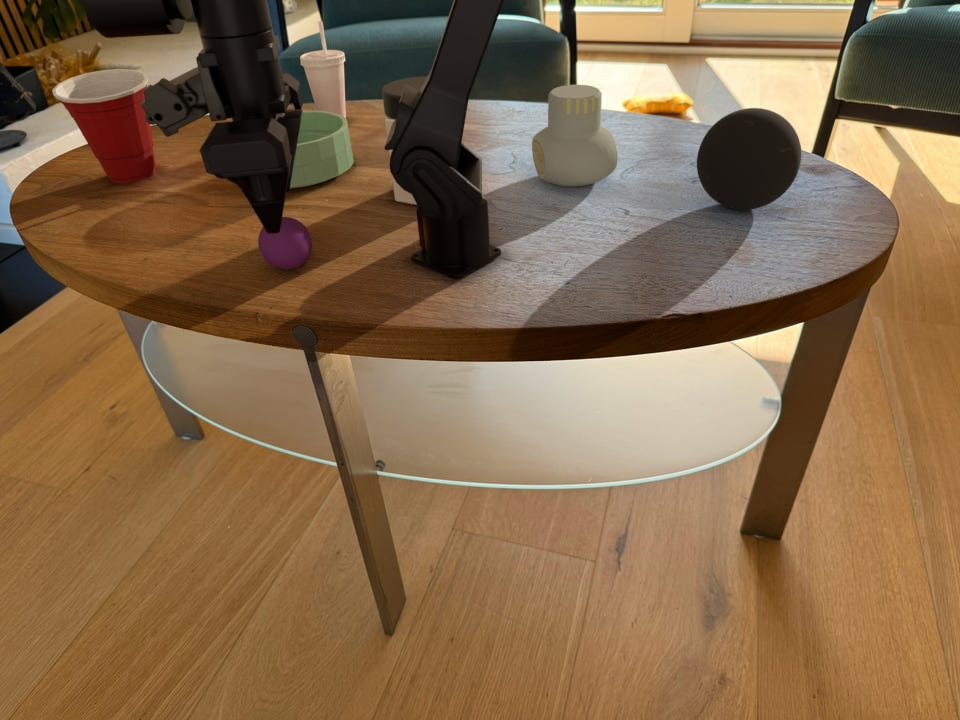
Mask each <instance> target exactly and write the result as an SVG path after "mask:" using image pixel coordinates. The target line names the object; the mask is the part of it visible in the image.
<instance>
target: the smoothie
mask: <svg viewBox="0 0 960 720" xmlns="http://www.w3.org/2000/svg"><path fill="white" fill-rule="evenodd" d="M317 24H318V28H319V35H320V41H321V47H322V49H321V50H320V49H319V50H314V51H309V52H306V53H303V54H301V55H300V57H299V60H300V66H301V67H303V69H304V73H305V76H306V79H307V82H308V86H309V89H310V93H311V95H312V100H313V102H314V106H315V109H316V111H326V112H332V113H336V114H339V115H342V116H343V117H345V118H346V119H347V112H346V111H347V110H346V88H345V87H346V85H345V62H346V55H345V52H344V51H342V50H339V49H328V48H327V42H326V36H325V30H324V24H323V21H322V20H319V21H318V23H317Z"/></svg>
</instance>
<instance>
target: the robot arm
mask: <svg viewBox="0 0 960 720" xmlns="http://www.w3.org/2000/svg"><path fill="white" fill-rule="evenodd" d="M504 1H505V0H453V2H452V4H451V8H450V11H449V13H448V17H447V20H446V23H445V27H444V30H443V31H442V36H441V39H440V42H439V45H438V47H437V51H436V53H435V57H434V60H433V62H432V66H431V69H430V71H429V73H428V75H426V76H427V78H426V80H425V82H424V83H423V85H422V87H421V88H420V90H419V91H418V90H416V89H415V88H413V87H411V86H410V85H408V84H405V86H404V89H403V92H402V95H401V98H400V101H399V104H398V111H397V118H396V119H395V120H394V122H393V123H392V126H391V129H390V132H389V135H388V138H387V137H386V141H385V145H384V150H385V151H389V150H392V153H391V156H390V157H389V163H388V164H389V171H390V174H391V176H392V175H393V177H394V179H395V181H396V183H397V184H398V185H399V186H400V187H401V188H402V189H403V190H405V191H407V192H408V193H410V194H412V196H413V198H414V200H415V202H416V203H417V205H416V207H417V208H416V209H415V212H416V213H415V214H416V220H417V221H416V222H417V231H418V238H419V247H420V248H421V249H420V250H418V251H416V252H414V253H412V254H411V255H410V260H411V262H413V263H416V264H417V265H420V266H423V267H425V268H427V269H430V270H432V271H434V272H437V273H439V274H442V275H444V276H446V277H449V278H450V279H454V280H458V279H461V278H463V277H465V276H467V275H469V274H471V273H472V272H473V271H475V270H477V269H479V268H481V267H483V266H484V265H486V264H487V263H490V262H491V261H493V260H495V259H498V257H500V256H501V255H502V249H501V248H499V247H497V246H494V245H491V243H490V224H489V202H488V201H489V200H488V198H487V199H486V198H484V197H483V161H482V159H481V157H479V156H478V155H477V154H476V153H475V152H473V151H472V150H471V149H470V148H469V147H468V146H467V145H465V143H463V137H464V136H463V135H464V129H465V124H466V118H467V111H468V105H469V99H470V95H471V92H472V89H473V87H474V85H475V81H476V79H477V77H478V74H479V71H480V67H481V65H482V62H483V60H484V57H485V54H486V52H487V48H488V46H489V42H490V40H491V38H492V35H493V32H494V29H495V27H496V24H497V21H498V19H499V15H500V13H501V10H502V7H503V5H504ZM81 3H82V6H83V8H84V11H85V13H86V15H87V17H88V19H89V22H90V23H91V25H92V26H93V27H94V29H95V30H96V31H97V33H98V34H100V35H101V36H102V37H104V38H106V39H120V38H121V39H122V38H136V37H137V38H138V37H153V36H154V37H155V36H170V35H171V36H172V35H173V36H174V35H180V34H181V33H182V31H183V30H184V27H185V21H187V20H191V18H192V16H194V19H195V23H196V27H197V30H198V33H199V38H200V42H201V46H202V49H201V50H200V51H199V52H198V54H197V56H196V57H195V61H196V65H197V66H196V67H194V68H192V69H190V70H188V71H186V72H184V73H182V74H180V75H178V76H177V77H174V78H172V79H170V80H168V79H167V78H165V77H162V78H160V79H159V81H157V82H156V83H154V84H153V85H152V84H149V85H147V88H146V89H145V90H144V91H143V92H144V97H145V99H144V100H143V101H142V105H141V106H142V108H143V109H144V111H145V113H146V116H145V119H146V121H147V123H149V124H150V126H155V125H156V126H157V127H158V128H159V130H160V131H161V132H162V134H163V135H164V136H165V137H166V138H169V137H171V136H173V135H175V134H178V132H179V130H180V129H181V128H184V127H186V126H187V125H188V126H189V124H191V123H194V122H196V121H198V120H200V119H201V118H203V117H205V116H207V115H209V118H210V122H216V123H214V125H213V126H212V128H211V130H210V131H209V132H208V134H207V135H206V137H205V140H204V141H203V142H202V145H201V147H199V152H200V155H201V159H202V162H203V163H202V164H203V167H204V170H205V173H206V174H209V175H212V176H215V177H216V178H218V179H219V180H227V181H230V182H231V183H233V184H235V185H237V187H238V188H239V189H240V190H241V192H242V193H243V195H244V196H245V198H246V199H247V201H248V203H249V205H250V206H251V208H252V210H253V212H254V213H255V215H256V216H257V218H258V220H259V222H260V223H261V225H262V228H263V227H264V228H265V230H266V232H267V233H269V234H273V233H279V232H280V229H281V222H282V217H284V216H283V215H284V210H285V202H286V195H287V194H288V193H289V192H290V189H291V188H290V184H291V178H292V172H293V166H294V160H295V154H296V148H297V142H298V136H299V130H300V124H301V118H302V113H303V111H304V110H303V105H304V97H303V92H302V88H301V87H302V86H301V83H300V81H299V80H298V79H296V78H295V77H294V76H292V75H291V74H290V73H288V72H287V73H283V71H282V67H281V61H280V56H279V53H280V50H281V48H282V47H281V43H280V38H279V35H278V34H276V35H275V32H274V27H273V23H272V19H271V18H272V17H271V14H270V13H271V12H270V9H269V4H268V0H81ZM289 104H292V105H293V107H294V108H289V109H288V107H289ZM227 119H231V120H232V121H227ZM220 121H221V122H220ZM222 121H223V122H222Z"/></svg>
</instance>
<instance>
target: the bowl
mask: <svg viewBox="0 0 960 720" xmlns="http://www.w3.org/2000/svg"><path fill="white" fill-rule="evenodd" d="M302 111H303V113H302V118H301V124H300V130H299V136H298V142H297V148H296V154H295V160H294V166H293V172H292V178H291V184H290V189H297V188H304V187H310V186H314V185H317V184H322V183H324V182H327V181H329V180H331V179H335V178H336V177H337V178H338V177H339V176H341V175H342V174H344V173H346V172H347V171H349V170H350V169H351V168H352V166H353V165H354V163H355V161H354V154H353V147H352V142H351V136H350V130H349V122H348V119H347V117H346V118H345V117H343V116H342V115H339V114H336V113H332V112H326V111H317V110H302Z"/></svg>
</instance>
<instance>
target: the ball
mask: <svg viewBox="0 0 960 720" xmlns="http://www.w3.org/2000/svg"><path fill="white" fill-rule="evenodd" d="M257 241H258V242H257V246H258V249H259V253H260V254H261V256H262V258H263V259H264V260H265V262H266V263H268V264H269V265H270V266H271V267H274V268H276V269H279V270H293V269H297V268H298V267H300V266H301V265H303V264H304V263H305V262H307V260H308V259H309V257H310V255H311V252H312V249H313V240H312V235H311V233H310V231H309V229H308V227H306V226H305V224H304V223H302V222H301V221H300V220H298V219H296V218H294V217H290V216H282V222H281V229H280V232H279V233H273V234H269V233H267V232H266V230H265V228H264V227H263V226H262V228H261V230H260V232H259V234H258V238H257Z"/></svg>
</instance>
